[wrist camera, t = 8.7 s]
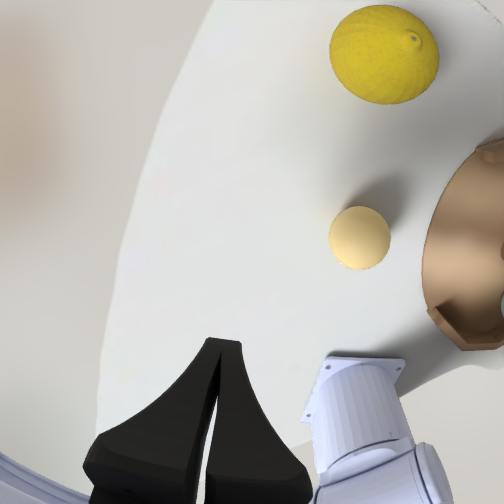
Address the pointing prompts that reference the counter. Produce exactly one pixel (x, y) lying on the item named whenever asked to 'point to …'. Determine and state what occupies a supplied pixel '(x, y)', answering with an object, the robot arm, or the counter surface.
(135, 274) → the counter surface
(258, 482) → the robot arm
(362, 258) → the pale yellow ball
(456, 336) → the groove tray
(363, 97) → the lemon
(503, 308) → the bead teal
